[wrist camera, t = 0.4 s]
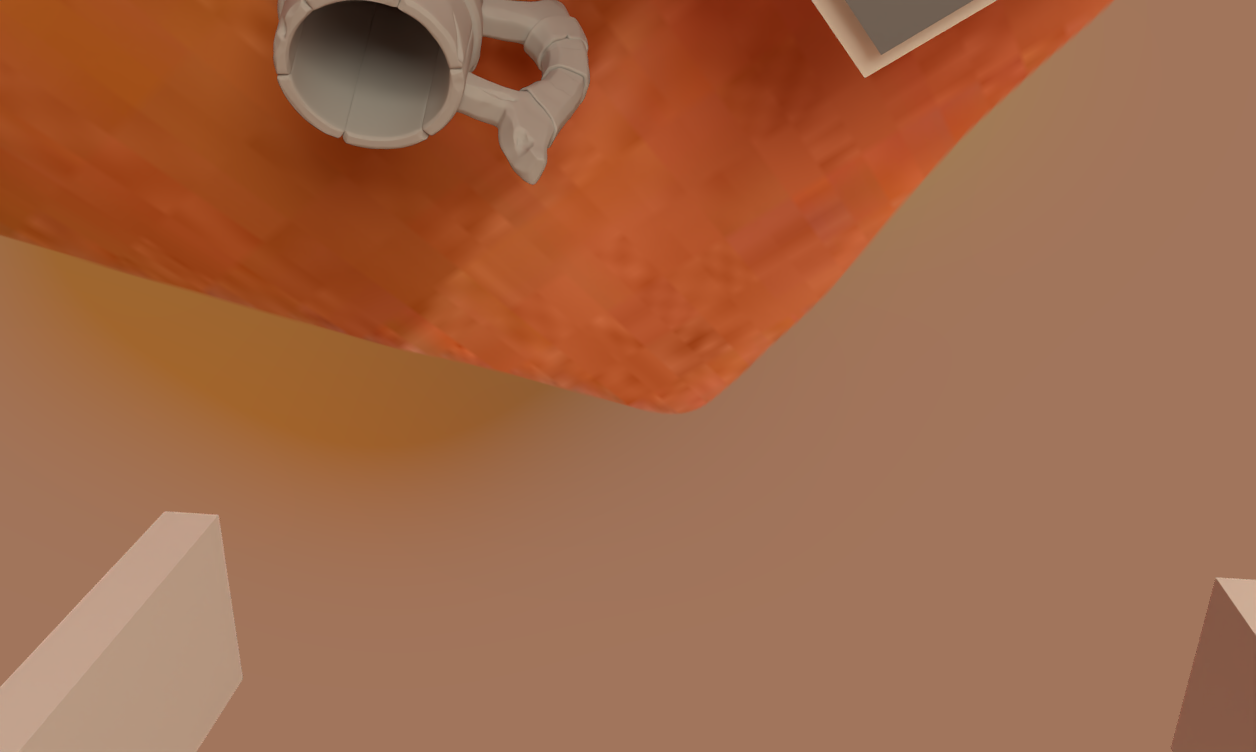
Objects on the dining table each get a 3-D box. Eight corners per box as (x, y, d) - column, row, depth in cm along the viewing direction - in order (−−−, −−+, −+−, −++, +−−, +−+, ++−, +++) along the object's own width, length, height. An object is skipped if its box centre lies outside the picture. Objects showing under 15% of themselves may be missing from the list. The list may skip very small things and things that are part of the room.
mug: (329, -204, 40) (262, -38, 32) (628, -72, 44) (635, 105, 36) (283, -23, 45) (215, 159, 37) (555, 81, 49) (546, 266, 41)
